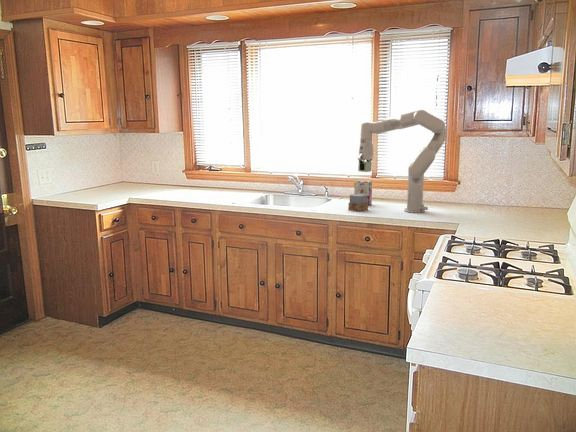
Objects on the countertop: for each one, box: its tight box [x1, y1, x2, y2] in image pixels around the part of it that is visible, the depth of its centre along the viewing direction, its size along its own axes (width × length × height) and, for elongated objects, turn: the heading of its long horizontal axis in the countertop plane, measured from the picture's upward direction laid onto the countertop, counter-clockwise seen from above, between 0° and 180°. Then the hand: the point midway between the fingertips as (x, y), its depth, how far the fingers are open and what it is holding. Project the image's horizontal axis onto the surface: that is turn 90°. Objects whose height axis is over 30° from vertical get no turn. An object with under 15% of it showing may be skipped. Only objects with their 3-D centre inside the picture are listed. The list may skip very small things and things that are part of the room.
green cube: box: [357, 160, 373, 173], centre depth 325 cm, size 6×6×6 cm
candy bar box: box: [354, 180, 373, 207], centre depth 347 cm, size 11×5×16 cm, turn 62°
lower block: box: [347, 202, 369, 213], centre depth 328 cm, size 9×9×5 cm
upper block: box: [349, 193, 367, 204], centre depth 328 cm, size 8×8×5 cm
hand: (364, 169), depth 326 cm, fingers closed on green cube, 6 cm apart
